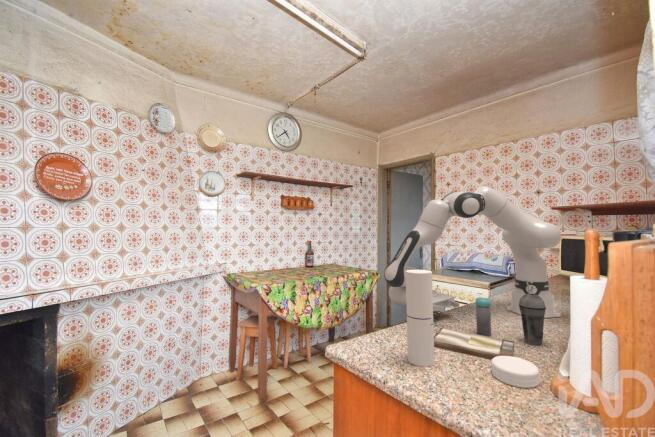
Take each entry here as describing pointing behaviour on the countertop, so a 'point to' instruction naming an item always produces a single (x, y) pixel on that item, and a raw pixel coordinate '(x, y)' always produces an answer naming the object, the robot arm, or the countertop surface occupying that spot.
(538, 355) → the countertop surface
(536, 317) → the beverage cup
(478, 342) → the clipboard
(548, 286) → the robot arm
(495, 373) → the coaster
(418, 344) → the cylindrical container
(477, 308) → the bottle
